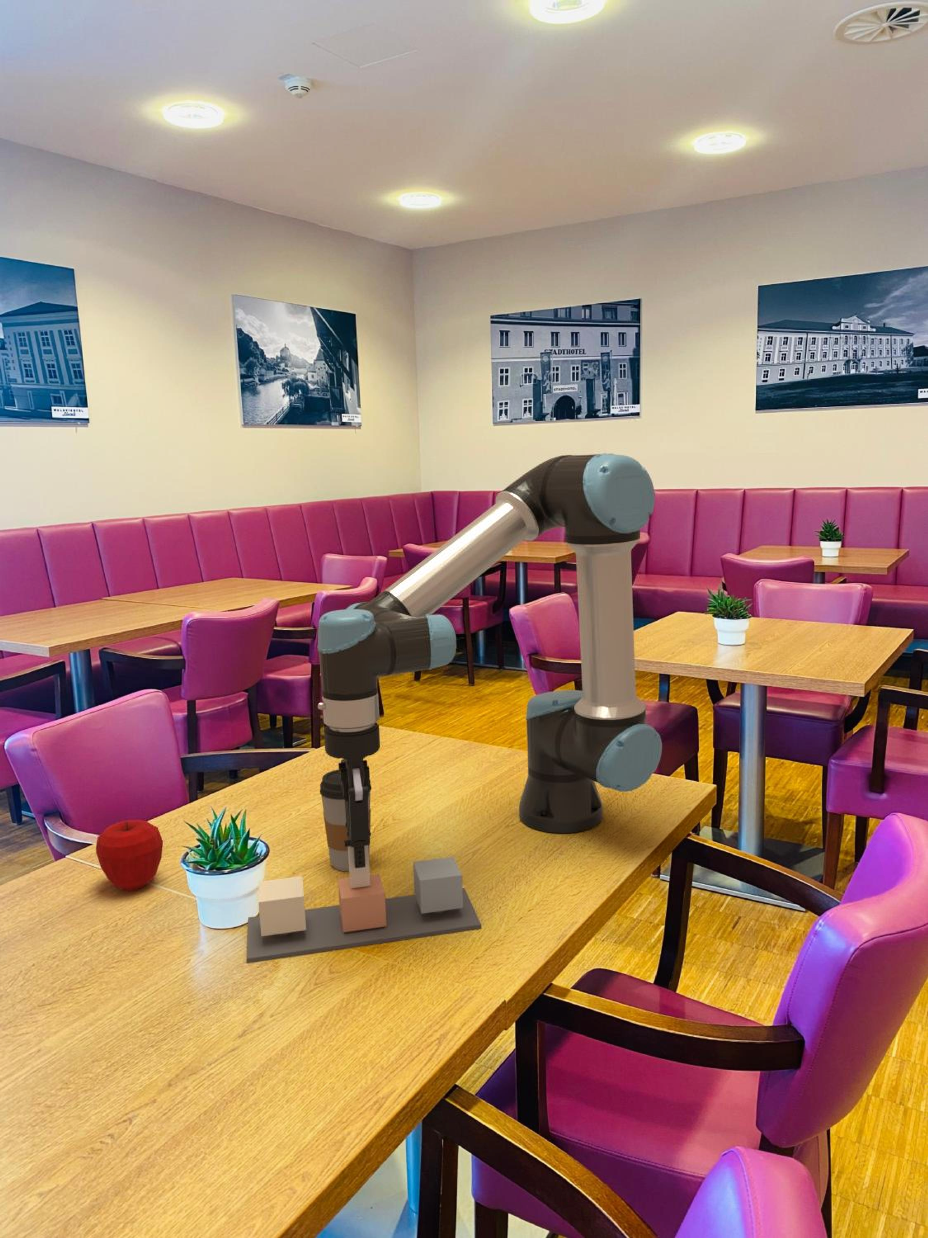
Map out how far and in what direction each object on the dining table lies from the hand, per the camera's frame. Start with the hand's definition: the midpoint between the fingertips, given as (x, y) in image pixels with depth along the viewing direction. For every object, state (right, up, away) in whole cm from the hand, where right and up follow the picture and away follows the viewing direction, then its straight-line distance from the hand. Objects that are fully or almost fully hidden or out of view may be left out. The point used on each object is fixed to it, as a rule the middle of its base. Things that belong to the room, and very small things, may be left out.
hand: (360, 884), depth 124 cm
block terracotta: (0, -5, +1) cm, 5 cm away
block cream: (-11, -5, -2) cm, 12 cm away
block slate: (+11, -3, +3) cm, 12 cm away
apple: (-38, -5, +15) cm, 41 cm away
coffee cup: (-4, -3, +20) cm, 21 cm away
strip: (0, -6, +1) cm, 6 cm away
